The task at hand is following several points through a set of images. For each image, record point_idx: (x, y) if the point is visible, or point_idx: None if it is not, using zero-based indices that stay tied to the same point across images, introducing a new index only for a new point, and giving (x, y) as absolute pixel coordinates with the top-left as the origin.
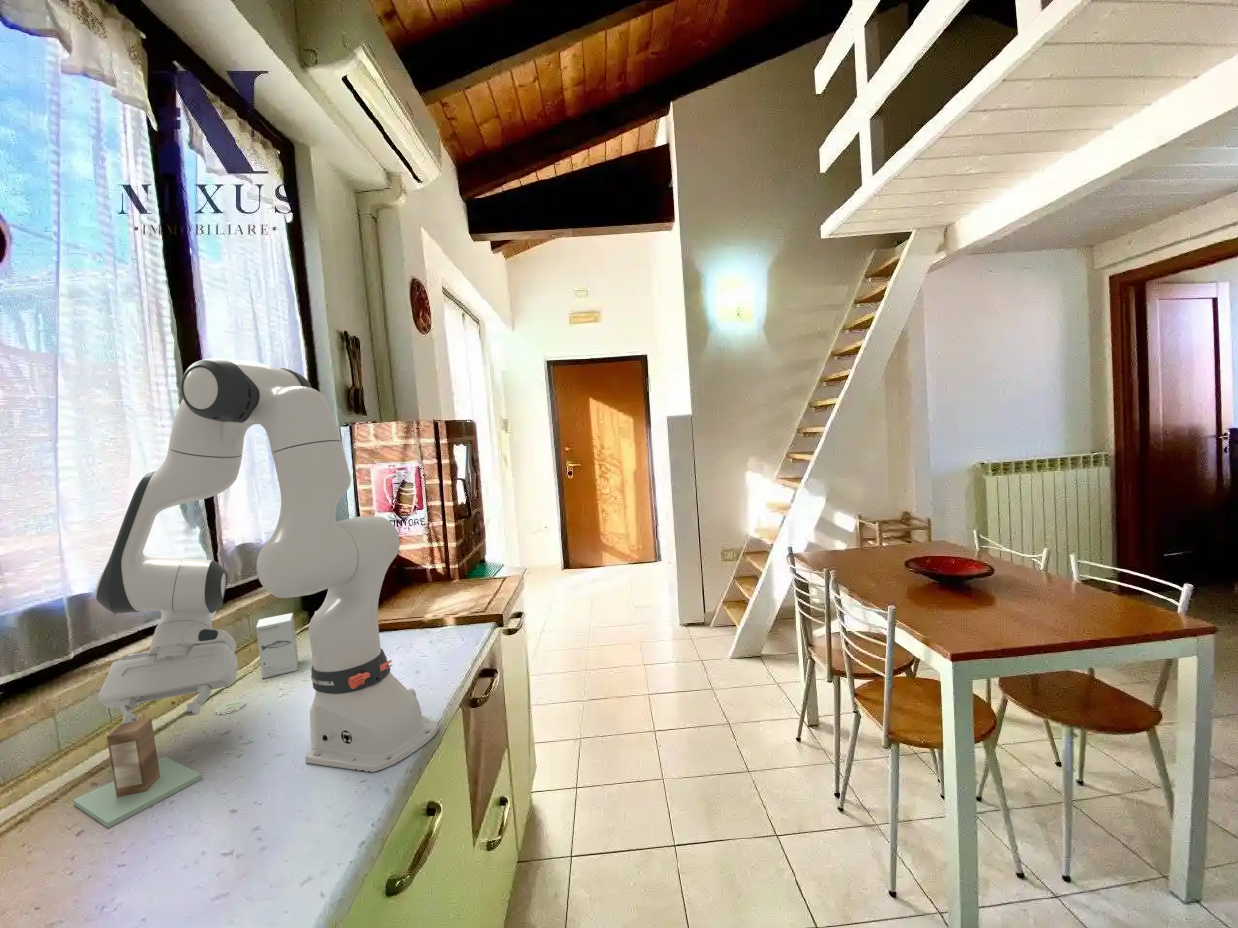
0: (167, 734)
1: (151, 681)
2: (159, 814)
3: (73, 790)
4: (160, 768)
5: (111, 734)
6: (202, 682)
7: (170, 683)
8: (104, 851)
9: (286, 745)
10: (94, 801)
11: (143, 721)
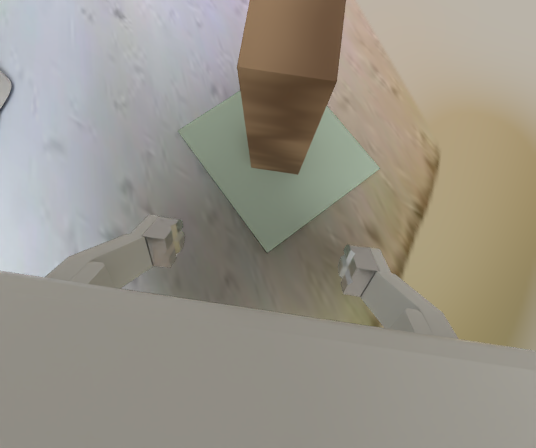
0: None
1: (341, 404)
2: (223, 64)
3: (403, 231)
4: (260, 201)
5: (336, 6)
6: (36, 277)
7: (206, 332)
8: None
9: (43, 175)
10: (338, 140)
11: (257, 51)
